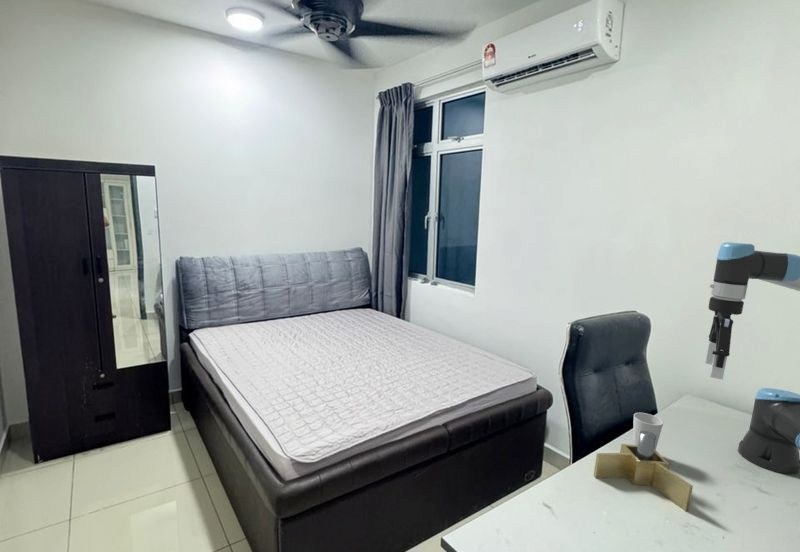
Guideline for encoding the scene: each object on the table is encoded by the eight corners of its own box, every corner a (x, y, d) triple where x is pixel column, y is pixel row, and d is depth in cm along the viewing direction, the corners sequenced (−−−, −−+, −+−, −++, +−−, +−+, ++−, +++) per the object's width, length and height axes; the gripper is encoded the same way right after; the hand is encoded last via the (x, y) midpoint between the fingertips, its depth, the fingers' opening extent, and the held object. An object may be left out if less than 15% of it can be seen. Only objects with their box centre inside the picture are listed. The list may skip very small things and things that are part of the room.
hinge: (648, 467, 125) (652, 446, 124) (689, 511, 107) (693, 486, 106) (584, 463, 125) (587, 441, 124) (614, 506, 107) (618, 481, 106)
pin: (643, 472, 123) (651, 431, 121) (651, 480, 119) (659, 438, 117) (630, 471, 123) (637, 430, 121) (637, 479, 119) (644, 437, 117)
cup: (629, 457, 130) (635, 421, 128) (626, 444, 138) (632, 410, 136) (659, 464, 127) (665, 427, 126) (654, 451, 135) (660, 416, 133)
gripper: (706, 290, 129) (694, 356, 132) (715, 302, 108) (701, 380, 111) (736, 294, 125) (723, 361, 128) (753, 307, 104) (737, 388, 107)
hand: (713, 370), depth 120 cm, fingers open, 13 cm apart
